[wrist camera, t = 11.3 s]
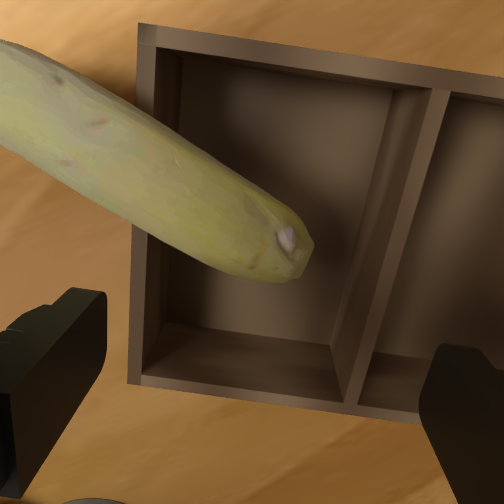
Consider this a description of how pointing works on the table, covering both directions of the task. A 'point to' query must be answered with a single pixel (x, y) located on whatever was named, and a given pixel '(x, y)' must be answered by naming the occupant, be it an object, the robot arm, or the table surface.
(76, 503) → the coffee mug
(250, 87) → the walnut crate
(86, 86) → the fruit
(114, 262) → the table surface
